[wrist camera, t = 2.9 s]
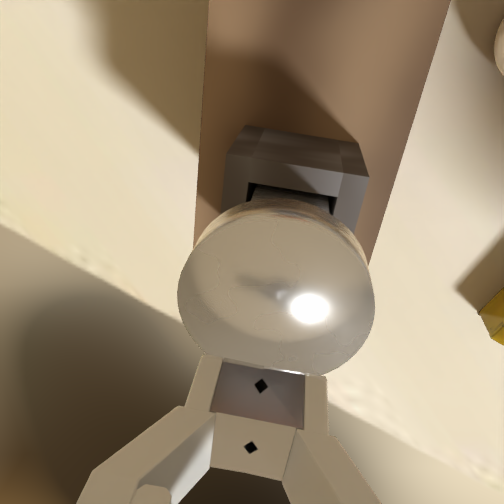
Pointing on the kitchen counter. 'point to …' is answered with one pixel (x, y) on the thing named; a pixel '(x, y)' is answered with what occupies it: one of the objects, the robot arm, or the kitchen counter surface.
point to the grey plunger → (278, 284)
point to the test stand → (312, 102)
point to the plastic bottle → (499, 48)
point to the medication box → (494, 317)
